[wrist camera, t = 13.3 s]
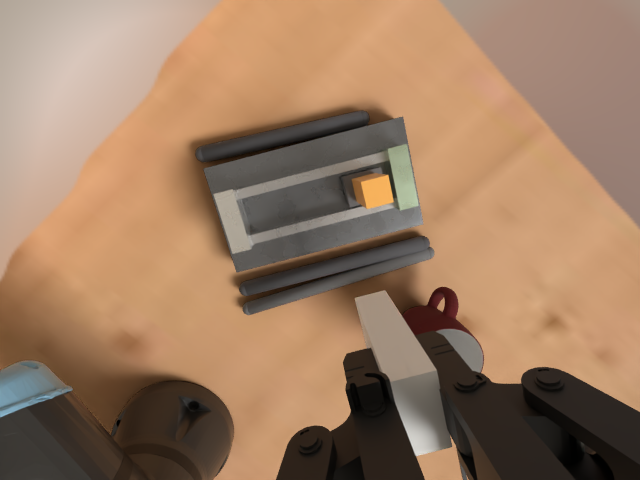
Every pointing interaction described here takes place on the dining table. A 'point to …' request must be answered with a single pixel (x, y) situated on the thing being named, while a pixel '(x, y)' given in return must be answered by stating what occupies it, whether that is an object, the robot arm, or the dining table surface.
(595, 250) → the dining table surface
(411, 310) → the mug
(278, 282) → the grey rod
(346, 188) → the lever
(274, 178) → the gray slotted base
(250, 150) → the cord
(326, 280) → the cord
